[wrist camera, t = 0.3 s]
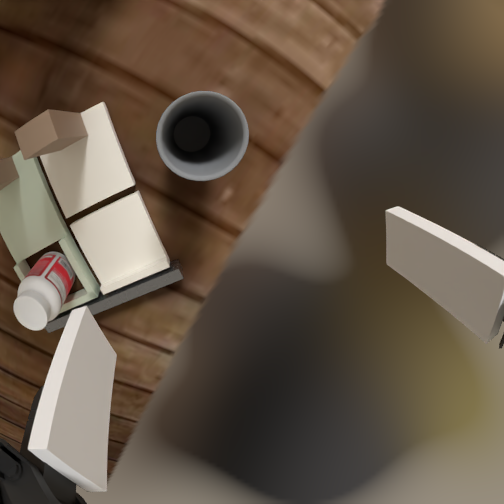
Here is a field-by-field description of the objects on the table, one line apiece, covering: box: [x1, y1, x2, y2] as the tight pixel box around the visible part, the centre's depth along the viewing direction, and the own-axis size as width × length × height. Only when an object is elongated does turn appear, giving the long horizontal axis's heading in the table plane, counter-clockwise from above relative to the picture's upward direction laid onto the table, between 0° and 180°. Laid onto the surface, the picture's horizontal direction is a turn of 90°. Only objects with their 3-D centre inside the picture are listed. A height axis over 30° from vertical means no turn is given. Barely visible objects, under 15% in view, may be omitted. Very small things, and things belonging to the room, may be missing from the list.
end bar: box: [45, 259, 184, 333], centre depth 37 cm, size 2×23×3 cm, turn 108°
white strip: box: [70, 191, 170, 295], centre depth 35 cm, size 10×10×2 cm
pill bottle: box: [13, 252, 75, 330], centre depth 31 cm, size 6×6×11 cm
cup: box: [156, 91, 249, 181], centre depth 27 cm, size 7×7×15 cm
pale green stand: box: [0, 150, 100, 314], centre depth 27 cm, size 22×10×11 cm, turn 18°
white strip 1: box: [15, 102, 135, 219], centre depth 26 cm, size 11×10×11 cm
